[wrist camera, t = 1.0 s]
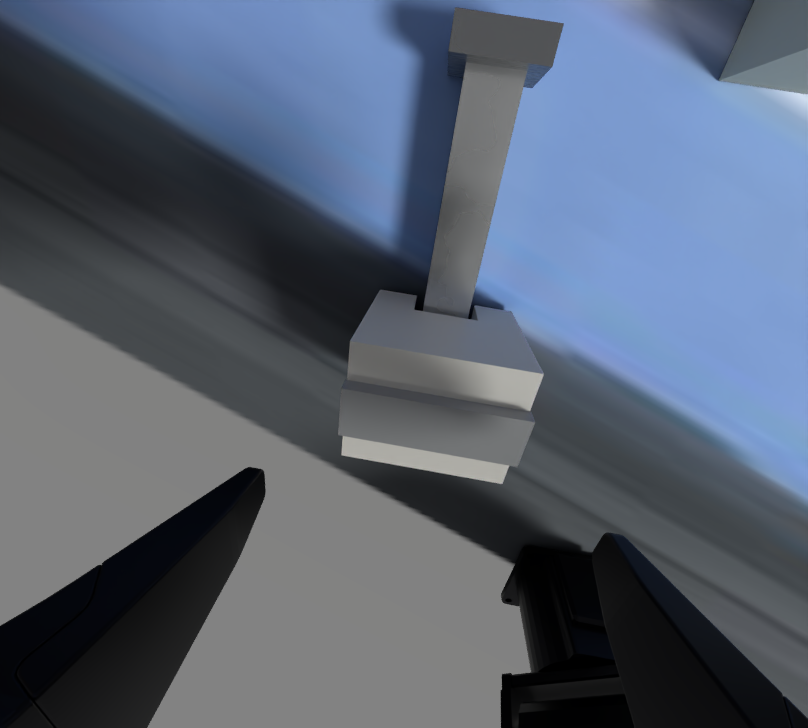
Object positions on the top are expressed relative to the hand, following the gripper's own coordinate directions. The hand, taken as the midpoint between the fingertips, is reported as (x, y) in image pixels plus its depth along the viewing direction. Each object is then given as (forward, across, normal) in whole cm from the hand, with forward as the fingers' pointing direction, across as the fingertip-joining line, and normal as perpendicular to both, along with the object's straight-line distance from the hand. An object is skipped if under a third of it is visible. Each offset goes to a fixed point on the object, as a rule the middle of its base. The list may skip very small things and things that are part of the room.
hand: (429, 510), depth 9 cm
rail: (+10, 0, -4) cm, 11 cm away
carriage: (+10, 0, 0) cm, 10 cm away
